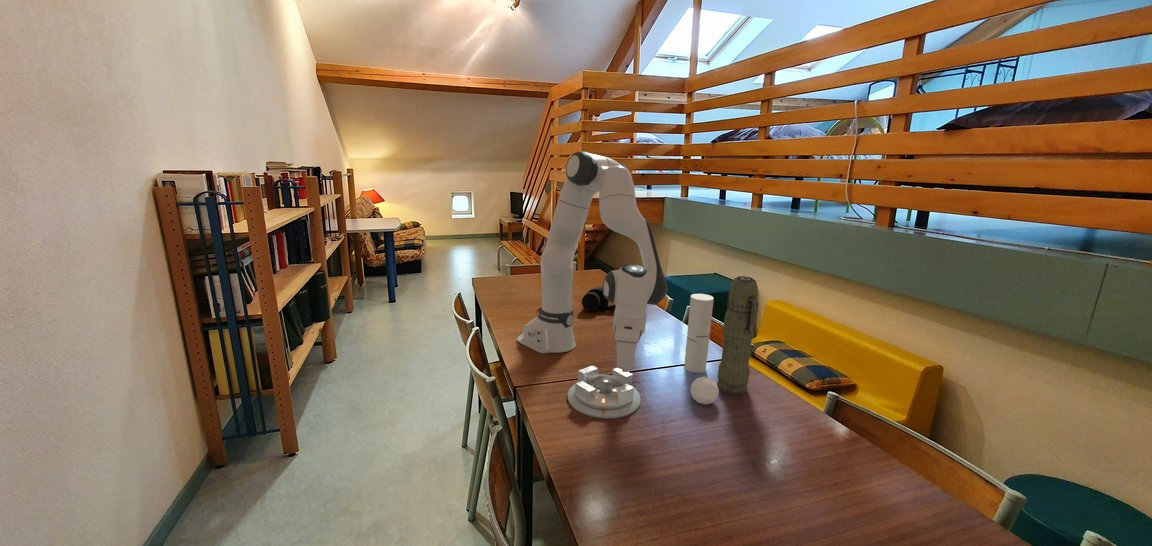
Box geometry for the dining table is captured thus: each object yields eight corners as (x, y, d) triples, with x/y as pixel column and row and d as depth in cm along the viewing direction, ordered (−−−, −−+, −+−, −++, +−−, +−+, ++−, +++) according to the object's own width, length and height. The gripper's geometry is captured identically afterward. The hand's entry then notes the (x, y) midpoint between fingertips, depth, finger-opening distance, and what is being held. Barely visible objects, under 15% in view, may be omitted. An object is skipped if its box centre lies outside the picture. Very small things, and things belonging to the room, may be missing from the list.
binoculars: (581, 312, 203) (581, 290, 202) (587, 302, 223) (588, 282, 222) (645, 318, 199) (647, 295, 197) (646, 306, 219) (647, 286, 217)
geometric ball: (708, 413, 131) (718, 402, 125) (682, 399, 133) (691, 388, 127) (716, 392, 136) (726, 381, 130) (691, 379, 138) (700, 367, 131)
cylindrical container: (706, 373, 150) (714, 301, 144) (684, 371, 151) (691, 299, 145) (705, 364, 157) (712, 294, 150) (683, 362, 158) (690, 292, 152)
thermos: (729, 376, 148) (741, 272, 140) (756, 393, 138) (772, 282, 129) (707, 381, 145) (719, 274, 136) (734, 399, 134) (748, 285, 126)
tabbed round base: (577, 378, 141) (578, 363, 140) (632, 382, 140) (633, 367, 139) (571, 407, 125) (572, 391, 124) (634, 412, 124) (635, 395, 122)
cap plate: (553, 401, 130) (553, 398, 130) (593, 374, 147) (593, 371, 147) (617, 427, 119) (617, 423, 118) (652, 395, 135) (652, 391, 135)
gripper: (620, 310, 136) (617, 353, 139) (614, 336, 116) (610, 385, 120) (642, 313, 135) (637, 356, 138) (639, 339, 115) (634, 388, 119)
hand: (625, 370), depth 129 cm, fingers closed
